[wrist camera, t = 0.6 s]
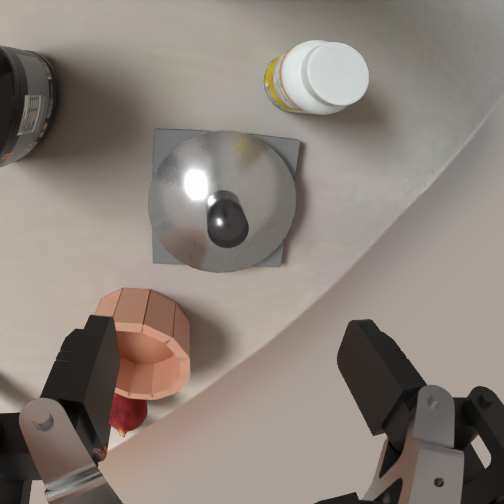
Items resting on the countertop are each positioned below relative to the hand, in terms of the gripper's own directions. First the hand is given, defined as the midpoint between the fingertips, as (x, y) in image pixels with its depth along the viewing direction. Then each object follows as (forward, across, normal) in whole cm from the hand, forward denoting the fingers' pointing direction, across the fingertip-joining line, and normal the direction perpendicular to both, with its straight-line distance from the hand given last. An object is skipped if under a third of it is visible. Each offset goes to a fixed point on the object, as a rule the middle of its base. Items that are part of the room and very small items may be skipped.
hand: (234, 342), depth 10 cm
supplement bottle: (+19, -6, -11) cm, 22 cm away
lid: (+18, -1, 0) cm, 18 cm away
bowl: (+19, +7, +15) cm, 26 cm away
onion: (+20, +10, +25) cm, 34 cm away
